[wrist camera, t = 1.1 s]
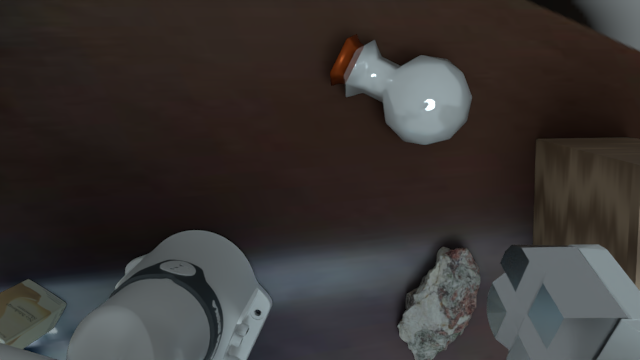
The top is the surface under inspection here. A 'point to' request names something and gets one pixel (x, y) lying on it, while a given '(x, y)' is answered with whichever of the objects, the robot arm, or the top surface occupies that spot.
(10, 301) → the skincare box
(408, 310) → the mineral rock
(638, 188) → the walnut block
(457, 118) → the potion bottle
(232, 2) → the top surface
